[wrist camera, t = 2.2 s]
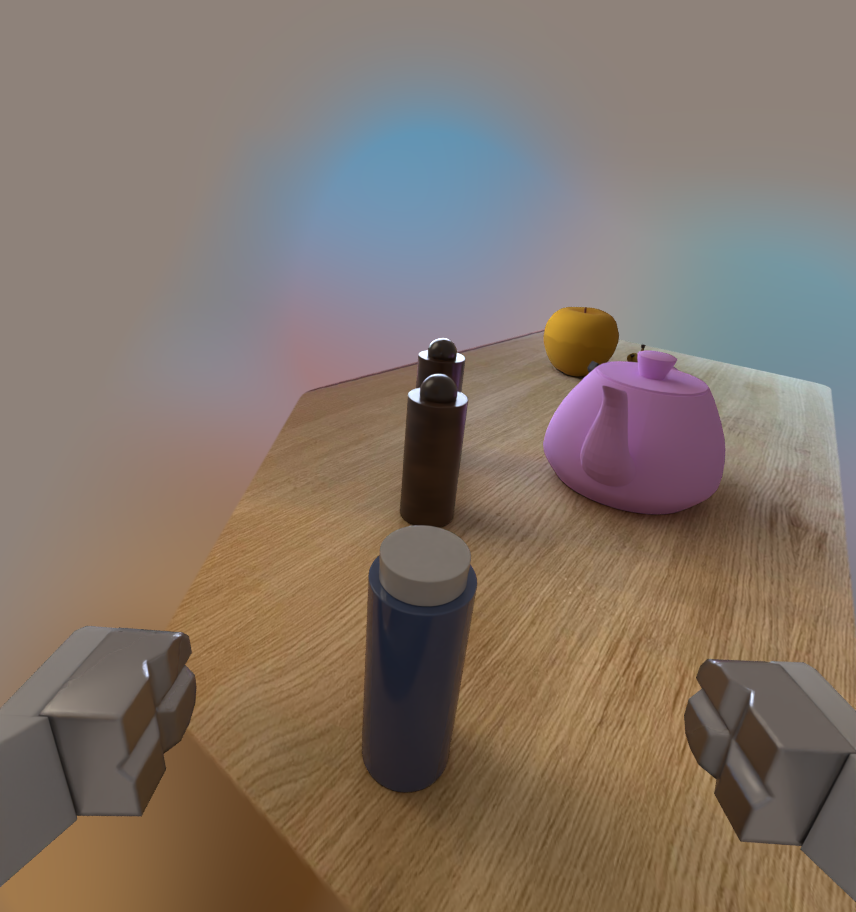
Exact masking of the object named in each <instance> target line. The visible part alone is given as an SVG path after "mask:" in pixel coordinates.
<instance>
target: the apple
mask: <svg viewBox="0 0 856 912" xmlns="http://www.w3.org/2000/svg"><path fill="white" fill-rule="evenodd" d="M618 339H619V332H618V328H617V324H616V321H615V320H614V318H613V317H612V316H611V315H609V314H608V313H606V312H604V311H602V310H599V309H595V308H587V307H566V308H562V309H560V310H558V311H557V312H555V313H554V314H553V315H552V317H551V318H550V319H549V320H548V322H547V324H546V327H545V331H544V345H545V349H546V352H547V355H548V357H549V359H550V361H551V363H552V364H553V366H554V367H556V368H557V369H559V370H560V371H562V372H564V373H565V374H567V375H571V376H576V377H584V376H587V375H588V374H589V372H588V368H587V367H588V366H589V364H590V363H591V362H592V361H594V362H596V363H599V365H601V364H603V363H607V362H608V361H609V359H610V358H611V357H612V355H613V353H614V351H615V349H616V347H617V344H618ZM595 368H596V367H595ZM595 368H594V369H595ZM594 369H593V370H594Z"/></svg>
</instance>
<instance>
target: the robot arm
mask: <svg viewBox="0 0 856 912" xmlns="http://www.w3.org/2000/svg"><path fill="white" fill-rule="evenodd" d="M191 653H192V651H191V645H190V640H189V636H188V635H186V634H184V633H183V632H170V631H157V630H156V631H155V630H144V629H129V628H107V627H95V626H85V627H83V628H80V629H78V630H76V631H75V632H73V633H72V635H71V636H70V637H69V638H68V639H67V640H66V641H65V642H64V643H63V644H62V645H61V646H60V647H59V648H58V649H57V650H56V651H55V652H54V653H53V654H52V655H51V656H50V657H49V658H48V659H47V660H46V661H45V662H44V664H43V665H42V666H41V667H40V668H39V669H38V670H37V671H36V672H35V673H34V674H33V675H32V676H31V677H30V678H29V679H28V680H27V681H26V682H25V683H24V684H23V685H22V686H21V687H20V688H19V689H18V691H16V693H15V694H14V695H13V696H12V697H11V698H10V699H9V700H8V701H7V702H6V703H5V704H4V705H3V706H2V707H1V708H0V887H1V886H2V885H3V884H4V883H5V882H7V880H9V879H10V878H11V877H12V876H13V875H15V874H16V873H17V872H18V871H19V870H20V869H21V868H22V867H24V866H25V865H26V864H27V863H28V862H29V861H31V860H32V859H33V858H34V857H35V856H36V855H37V854H39V853H40V852H41V851H42V850H43V849H44V848H45V847H46V846H48V845H49V844H50V843H51V842H52V841H53V840H55V839H56V838H57V837H58V836H59V835H60V834H61V833H63V832H64V831H65V830H66V829H67V828H68V827H69V826H71V825H72V824H73V823H74V822H75V821H76V820H77V816H142V815H143V812H144V811H145V808H146V807H147V805H148V803H149V801H150V799H151V797H152V795H153V794H154V792H155V790H156V788H157V786H158V784H159V782H160V780H161V778H162V776H163V774H164V772H165V771H166V766H165V760H164V753H165V752H167V751H168V750H169V749H171V748H172V747H173V746H175V745H176V744H177V743H179V742H180V741H181V739H182V738H183V735H184V733H185V731H186V729H187V727H188V725H189V723H190V720H191V716H192V713H193V709H194V706H195V701H196V679H195V675H194V674H193V672H192V671H191V670H190V669H189V668H188V667H187V666H186V665H185V664H186V662H187V660H188V658H189V657H190V655H191ZM696 679H697V681H698V683H699V684H700V686H701V688H702V689H701V690H700V691H698V692H697V693H696V694H695V695H693V696H692V697H691V698H690V699H689V700H688V703H687V707H686V711H685V714H684V721H685V734H686V737H687V740H688V743H689V746H690V749H691V751H692V753H693V755H694V757H695V759H696V761H697V763H698V765H700V766H701V767H702V768H703V769H704V770H706V771H707V772H708V773H709V774H710V775H712V776H713V777H714V778H715V779H716V785H715V792H714V794H715V796H716V798H717V800H718V802H719V803H720V805H721V807H722V809H723V811H724V813H725V814H726V816H727V818H728V820H729V822H730V824H731V825H732V827H733V829H734V831H735V833H736V834H737V836H738V838H739V840H740V841H741V842H755V843H768V844H782V845H795V846H802V847H801V850H802V851H803V852H804V853H805V854H806V855H807V856H808V857H809V858H810V859H811V860H812V861H813V862H814V863H815V864H816V865H817V866H819V867H820V868H821V869H822V870H823V871H824V872H825V873H826V874H827V875H828V876H829V877H830V878H831V879H832V880H833V881H834V882H835V883H836V884H837V885H839V886H840V887H841V888H842V889H843V890H844V891H845V892H846V893H847V894H848V895H849V896H850V897H851V898H852V899H853V900H854V901H855V902H856V711H855V710H854V709H853V708H852V707H851V706H850V705H849V704H848V702H847V701H846V700H845V699H844V698H843V697H842V696H841V695H840V694H839V693H838V692H837V691H836V690H835V689H834V688H833V687H832V686H831V685H830V684H829V683H828V682H827V681H826V680H825V679H824V678H823V676H822V675H821V674H820V673H819V672H818V671H817V670H816V669H814V668H813V667H811V666H809V665H807V664H806V663H804V662H777V661H771V662H765V661H742V660H719V659H707V660H706V661H705V662H704V663H703V664H702V665H700V668H699V671H698V674H697V676H696Z"/></svg>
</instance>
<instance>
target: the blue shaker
mask: <svg viewBox="0 0 856 912" xmlns="http://www.w3.org/2000/svg"><path fill="white" fill-rule="evenodd" d="M470 562H471V553H470V550H469V548H468V546H467V545H466V543H465V542H464V541H463V540H462V539H461V538H460V537H458V536H457V535H455V534H454V533H452V532H450V531H447V530H445V529H442V528H438V527H433V526H424V525H418V526H408V527H404V528H401V529H398V530H396V531H394V532H392V533H391V534H389V535H388V536H387V537H386V538H385V539H384V541H383V542H382V544H381V546H380V555H379V556H378V557H377V558H376V559H375V560H374V562H373V563H372V565H371V567H370V570H369V575H368V601H367V626H366V651H365V676H364V701H363V726H362V757H363V761H364V764H365V766H366V768H367V770H368V772H369V773H370V775H371V776H372V777H373V778H374V779H375V780H376V781H377V782H378V783H379V784H381V785H382V786H384V787H386V788H388V789H391V790H393V791H398V792H414V791H419V790H422V789H424V788H426V787H428V786H430V785H431V784H432V783H434V782H435V781H436V780H437V779H438V778H439V777H440V776H441V774H442V773H443V771H444V769H445V767H446V765H447V762H448V758H449V753H450V747H451V740H452V734H453V728H454V722H455V716H456V710H457V704H458V698H459V692H460V686H461V680H462V674H463V668H464V662H465V656H466V650H467V644H468V638H469V632H470V626H471V620H472V614H473V608H474V602H475V596H476V590H477V578H476V574H475V572H474V570H473V568H472V566H471V565H470Z"/></svg>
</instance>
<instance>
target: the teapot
mask: <svg viewBox="0 0 856 912" xmlns="http://www.w3.org/2000/svg"><path fill="white" fill-rule="evenodd" d="M637 359H638V362H624V361H616V362H607V363H603V364H601V365H599V366H597V367H596V368H595V369H594V370H592V371H591V372H590V373H589V374H588V375H587V376H586V377H585V378H584V379H583V380H582V381H581V382H580V383H579V384H578V385H577V386H576V387H575V388H574V389H573V390H572V391H571V392H570V393H569V394H568V395H567V396H566V398H565V399H564V400H563V401H562V403H561V404H560V406H559V407H558V409H557V410H556V412H555V413H554V415H553V417H552V419H551V421H550V423H549V426H548V428H547V430H546V434H545V438H544V442H543V446H544V452H545V455H546V458H547V459H548V461H549V463H550V465H551V466H552V468H553V469H554V471H555V472H556V474H557V475H558V477H559V478H560V479H561V480H562V481H563V482H564V483H565V484H566V485H567V486H568V487H570V488H571V489H573V490H574V491H576V492H577V493H579V494H581V495H583V496H585V497H587V498H589V499H591V500H593V501H596V502H598V503H601V504H604V505H607V506H610V507H613V508H617V509H620V510H625V511H629V512H635V513H642V514H670V513H675V512H679V511H682V510H684V509H687V508H690V507H692V506H694V505H696V504H698V503H700V502H702V501H704V500H706V499H708V498H709V497H710V496H711V495H712V494H713V493H714V492H715V491H716V490H717V489H718V487H719V484H720V481H721V478H722V474H723V469H724V463H725V439H724V434H723V429H722V424H721V421H720V417H719V414H718V410H717V407H716V404H715V400H714V398H713V396H712V393H711V391H710V389H709V387H708V386H707V384H706V383H705V382H703V381H702V380H700V379H698V378H696V377H694V376H692V375H689V374H687V373H684V372H681V371H678V369H676V368H675V367H673V366H674V365H675V363H676V361H677V358H675V357H674V356H672V355H670V354H667V353H663V352H658V351H648V350H646V351H640V352H638V357H637Z"/></svg>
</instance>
